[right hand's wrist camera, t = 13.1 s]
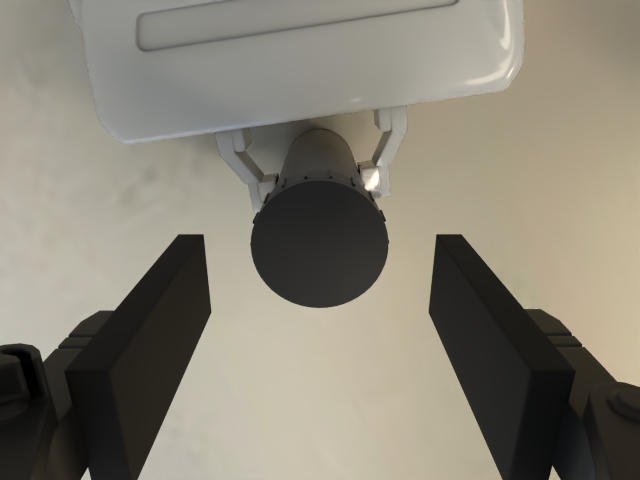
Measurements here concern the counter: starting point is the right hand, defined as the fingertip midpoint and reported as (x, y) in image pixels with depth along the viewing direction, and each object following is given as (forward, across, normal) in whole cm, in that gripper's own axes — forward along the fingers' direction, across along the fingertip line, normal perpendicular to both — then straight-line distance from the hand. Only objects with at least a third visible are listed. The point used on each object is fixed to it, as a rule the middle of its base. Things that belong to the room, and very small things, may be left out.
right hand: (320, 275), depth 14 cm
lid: (+3, 0, 0) cm, 3 cm away
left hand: (+11, 0, -1) cm, 11 cm away
